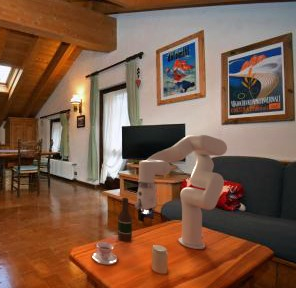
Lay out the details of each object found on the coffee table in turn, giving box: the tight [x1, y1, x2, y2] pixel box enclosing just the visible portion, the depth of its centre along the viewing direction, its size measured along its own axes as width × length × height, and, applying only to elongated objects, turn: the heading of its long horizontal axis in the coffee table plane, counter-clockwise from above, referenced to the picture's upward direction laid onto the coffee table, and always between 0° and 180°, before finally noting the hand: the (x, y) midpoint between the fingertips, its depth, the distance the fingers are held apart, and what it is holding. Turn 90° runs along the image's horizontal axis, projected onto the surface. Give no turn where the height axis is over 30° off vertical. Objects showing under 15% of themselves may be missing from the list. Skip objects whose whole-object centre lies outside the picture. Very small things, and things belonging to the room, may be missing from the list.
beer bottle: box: [117, 197, 133, 243], centre depth 127 cm, size 8×8×24 cm
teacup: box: [91, 241, 118, 265], centre depth 105 cm, size 12×12×6 cm
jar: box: [150, 244, 169, 275], centre depth 97 cm, size 7×7×10 cm
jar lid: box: [140, 209, 155, 219], centre depth 110 cm, size 7×7×2 cm
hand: (145, 219), depth 110 cm, fingers closed on jar lid, 7 cm apart
